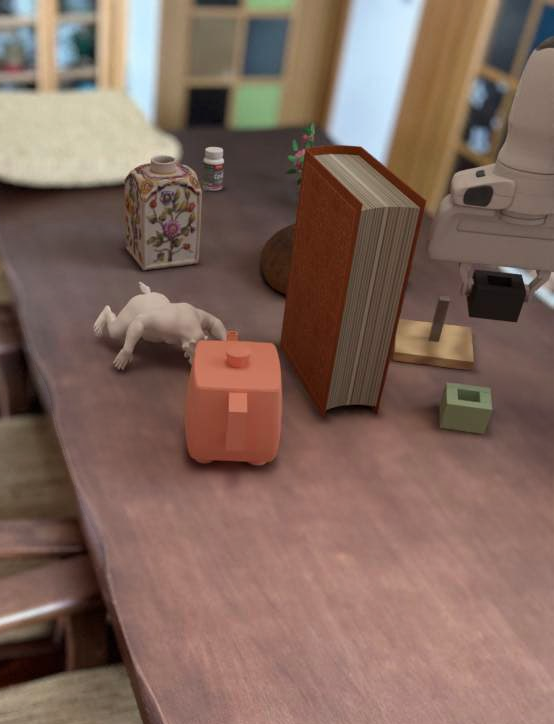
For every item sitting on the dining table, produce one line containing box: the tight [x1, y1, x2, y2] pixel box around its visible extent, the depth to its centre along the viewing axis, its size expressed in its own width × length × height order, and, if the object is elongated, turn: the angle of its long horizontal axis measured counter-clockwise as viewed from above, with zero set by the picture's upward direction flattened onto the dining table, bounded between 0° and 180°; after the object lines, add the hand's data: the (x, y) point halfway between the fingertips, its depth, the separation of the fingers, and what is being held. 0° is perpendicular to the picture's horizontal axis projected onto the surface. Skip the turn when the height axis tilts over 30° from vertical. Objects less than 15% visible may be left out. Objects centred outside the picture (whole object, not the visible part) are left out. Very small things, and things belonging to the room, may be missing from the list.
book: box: [279, 144, 427, 420], centre depth 116 cm, size 23×8×30 cm, turn 9°
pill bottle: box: [201, 146, 225, 192], centre depth 187 cm, size 5×5×8 cm
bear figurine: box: [92, 281, 228, 371], centre depth 128 cm, size 17×14×20 cm
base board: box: [392, 295, 475, 371], centre depth 130 cm, size 12×12×8 cm
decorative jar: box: [124, 154, 203, 272], centre depth 154 cm, size 12×12×18 cm
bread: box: [259, 222, 414, 295], centre depth 151 cm, size 28×27×9 cm
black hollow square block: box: [466, 269, 526, 323], centre depth 107 cm, size 6×6×4 cm
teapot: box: [184, 330, 283, 466], centre depth 108 cm, size 22×13×14 cm, turn 177°
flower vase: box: [284, 122, 324, 186], centre depth 181 cm, size 12×12×35 cm
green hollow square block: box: [438, 381, 493, 435], centre depth 116 cm, size 6×6×4 cm
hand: (494, 297), depth 108 cm, fingers closed on black hollow square block, 6 cm apart
